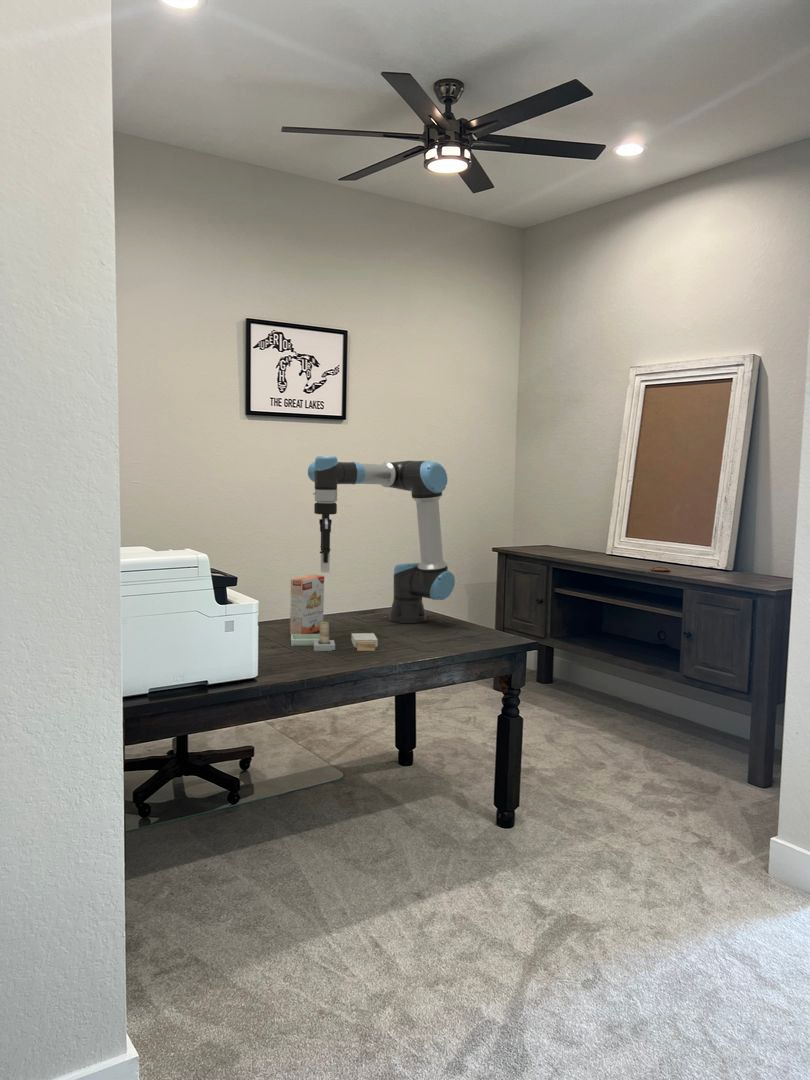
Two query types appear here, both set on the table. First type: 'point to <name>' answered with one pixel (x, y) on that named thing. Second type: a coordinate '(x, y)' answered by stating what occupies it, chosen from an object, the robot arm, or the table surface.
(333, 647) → the holder
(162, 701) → the table surface
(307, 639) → the tray
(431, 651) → the table surface
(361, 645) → the wooden block
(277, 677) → the table surface
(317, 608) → the cracker box
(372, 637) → the white rectangular block
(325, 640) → the pestle
